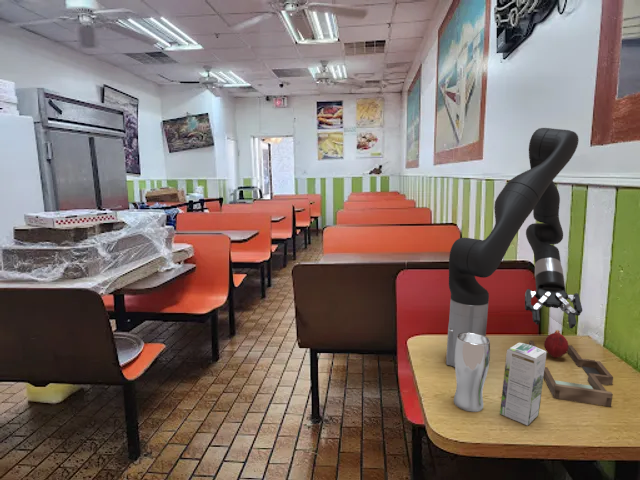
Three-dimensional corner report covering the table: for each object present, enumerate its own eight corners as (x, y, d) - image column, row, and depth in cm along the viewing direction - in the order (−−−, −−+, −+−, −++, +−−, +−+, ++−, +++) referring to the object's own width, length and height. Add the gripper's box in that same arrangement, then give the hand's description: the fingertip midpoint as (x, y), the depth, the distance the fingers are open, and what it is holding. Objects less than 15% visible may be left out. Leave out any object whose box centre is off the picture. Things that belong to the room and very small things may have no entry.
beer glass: (447, 395, 91) (452, 331, 89) (478, 396, 91) (484, 332, 89) (456, 412, 85) (461, 344, 82) (490, 413, 84) (496, 345, 82)
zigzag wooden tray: (534, 395, 92) (535, 382, 92) (513, 344, 121) (514, 335, 120) (632, 410, 87) (634, 397, 86) (587, 354, 115) (588, 344, 115)
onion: (570, 363, 109) (573, 335, 108) (547, 361, 110) (550, 333, 109) (562, 354, 114) (565, 327, 113) (540, 352, 116) (542, 325, 114)
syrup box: (511, 404, 88) (517, 340, 86) (540, 416, 84) (547, 349, 82) (499, 414, 84) (505, 348, 82) (529, 427, 80) (536, 357, 78)
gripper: (525, 267, 122) (529, 316, 113) (579, 271, 118) (588, 322, 109) (521, 280, 128) (524, 328, 119) (572, 285, 124) (579, 334, 115)
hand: (554, 325), depth 114 cm, fingers open, 8 cm apart
